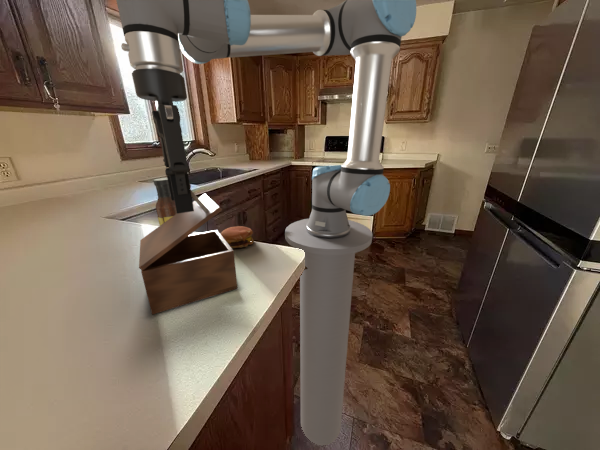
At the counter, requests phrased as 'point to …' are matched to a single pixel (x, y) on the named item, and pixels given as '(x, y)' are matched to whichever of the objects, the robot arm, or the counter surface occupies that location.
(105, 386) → the counter surface
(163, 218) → the sauce bottle
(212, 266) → the brown wooden box
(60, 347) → the counter surface
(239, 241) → the burger
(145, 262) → the lid
